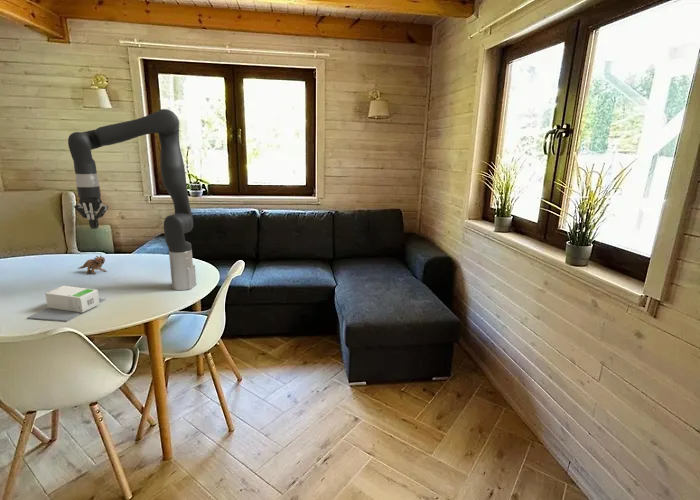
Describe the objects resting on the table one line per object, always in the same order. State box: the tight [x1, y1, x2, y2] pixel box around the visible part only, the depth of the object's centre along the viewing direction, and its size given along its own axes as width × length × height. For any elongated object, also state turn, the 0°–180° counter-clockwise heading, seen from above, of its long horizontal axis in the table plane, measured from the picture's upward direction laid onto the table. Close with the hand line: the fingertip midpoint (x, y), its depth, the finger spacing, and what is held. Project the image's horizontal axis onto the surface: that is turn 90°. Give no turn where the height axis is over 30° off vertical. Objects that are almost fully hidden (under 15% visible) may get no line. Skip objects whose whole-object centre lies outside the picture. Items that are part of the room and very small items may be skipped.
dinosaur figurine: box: [77, 255, 108, 276], centre depth 185 cm, size 14×6×9 cm, turn 89°
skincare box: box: [45, 285, 101, 314], centre depth 146 cm, size 8×7×16 cm
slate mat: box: [26, 297, 106, 323], centre depth 146 cm, size 15×20×1 cm
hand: (94, 228), depth 155 cm, fingers closed
